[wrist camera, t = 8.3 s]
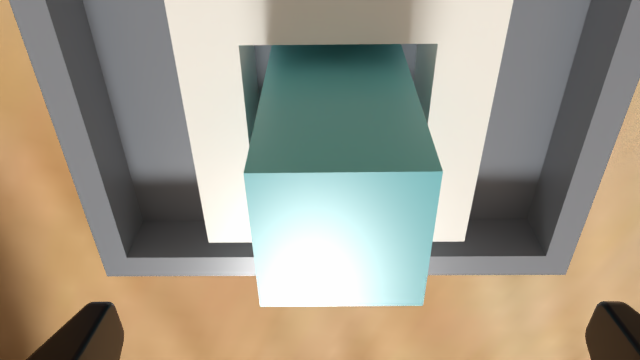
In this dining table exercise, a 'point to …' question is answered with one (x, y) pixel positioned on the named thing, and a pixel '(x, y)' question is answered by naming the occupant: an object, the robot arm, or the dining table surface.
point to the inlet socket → (329, 29)
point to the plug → (341, 179)
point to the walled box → (169, 117)
